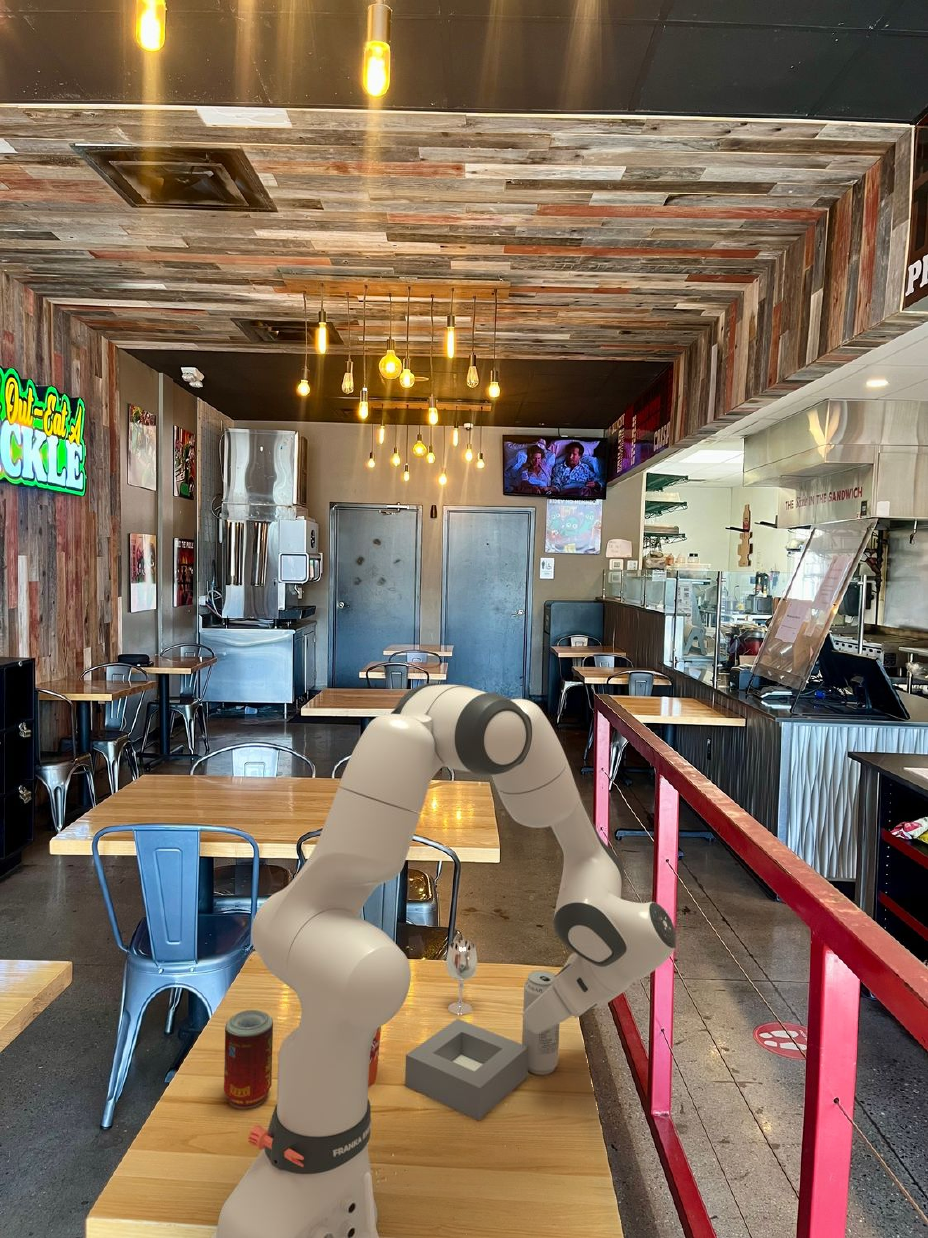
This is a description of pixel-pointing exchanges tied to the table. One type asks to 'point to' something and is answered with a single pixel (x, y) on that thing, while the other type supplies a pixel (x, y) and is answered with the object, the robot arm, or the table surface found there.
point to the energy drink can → (547, 1042)
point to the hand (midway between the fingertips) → (538, 1015)
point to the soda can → (248, 1058)
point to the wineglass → (461, 970)
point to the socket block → (466, 1068)
